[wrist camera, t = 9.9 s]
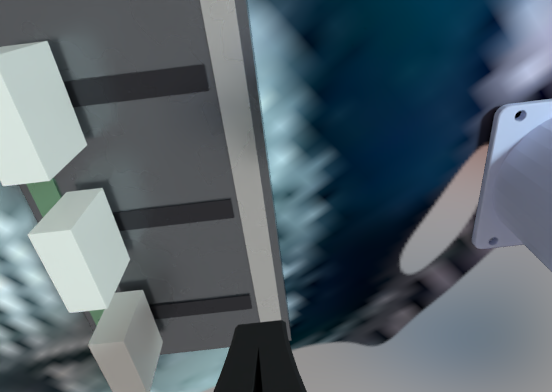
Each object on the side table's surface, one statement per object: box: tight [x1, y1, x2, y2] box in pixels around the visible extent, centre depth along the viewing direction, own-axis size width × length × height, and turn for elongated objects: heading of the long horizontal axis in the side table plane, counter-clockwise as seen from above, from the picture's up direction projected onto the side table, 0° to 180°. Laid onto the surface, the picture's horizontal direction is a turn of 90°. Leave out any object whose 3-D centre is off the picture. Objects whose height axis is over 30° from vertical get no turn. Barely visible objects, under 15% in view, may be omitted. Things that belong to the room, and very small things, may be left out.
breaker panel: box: [0, 0, 291, 355], centre depth 18 cm, size 11×19×2 cm, turn 6°
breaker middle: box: [28, 188, 130, 313], centre depth 16 cm, size 2×4×3 cm, turn 6°
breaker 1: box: [0, 41, 87, 186], centre depth 13 cm, size 2×4×3 cm, turn 6°
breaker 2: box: [88, 290, 163, 392], centre depth 19 cm, size 2×4×3 cm, turn 6°
